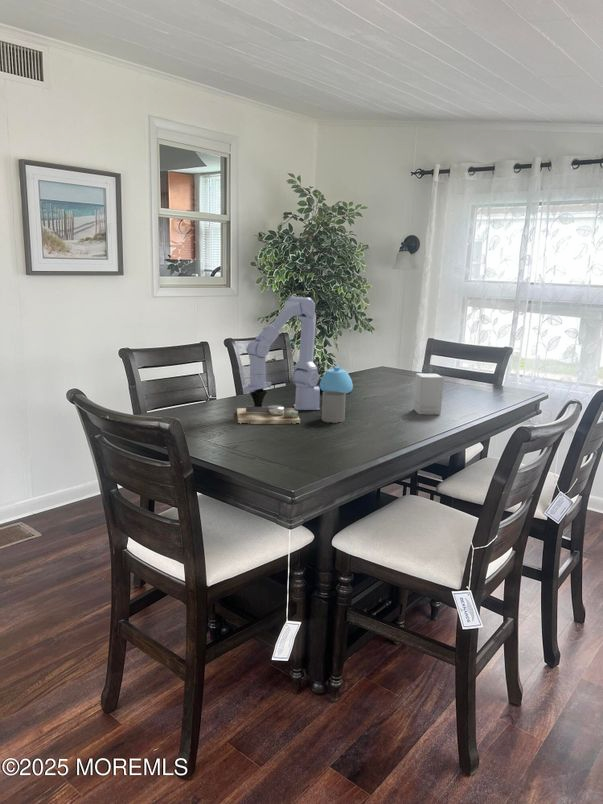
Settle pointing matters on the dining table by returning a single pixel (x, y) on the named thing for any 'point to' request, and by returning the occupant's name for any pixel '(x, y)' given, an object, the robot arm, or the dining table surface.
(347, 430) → the dining table surface
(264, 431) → the dining table surface
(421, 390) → the supplement box
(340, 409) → the cup
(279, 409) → the grey spoon
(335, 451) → the dining table surface
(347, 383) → the sugar bowl
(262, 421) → the oak board
